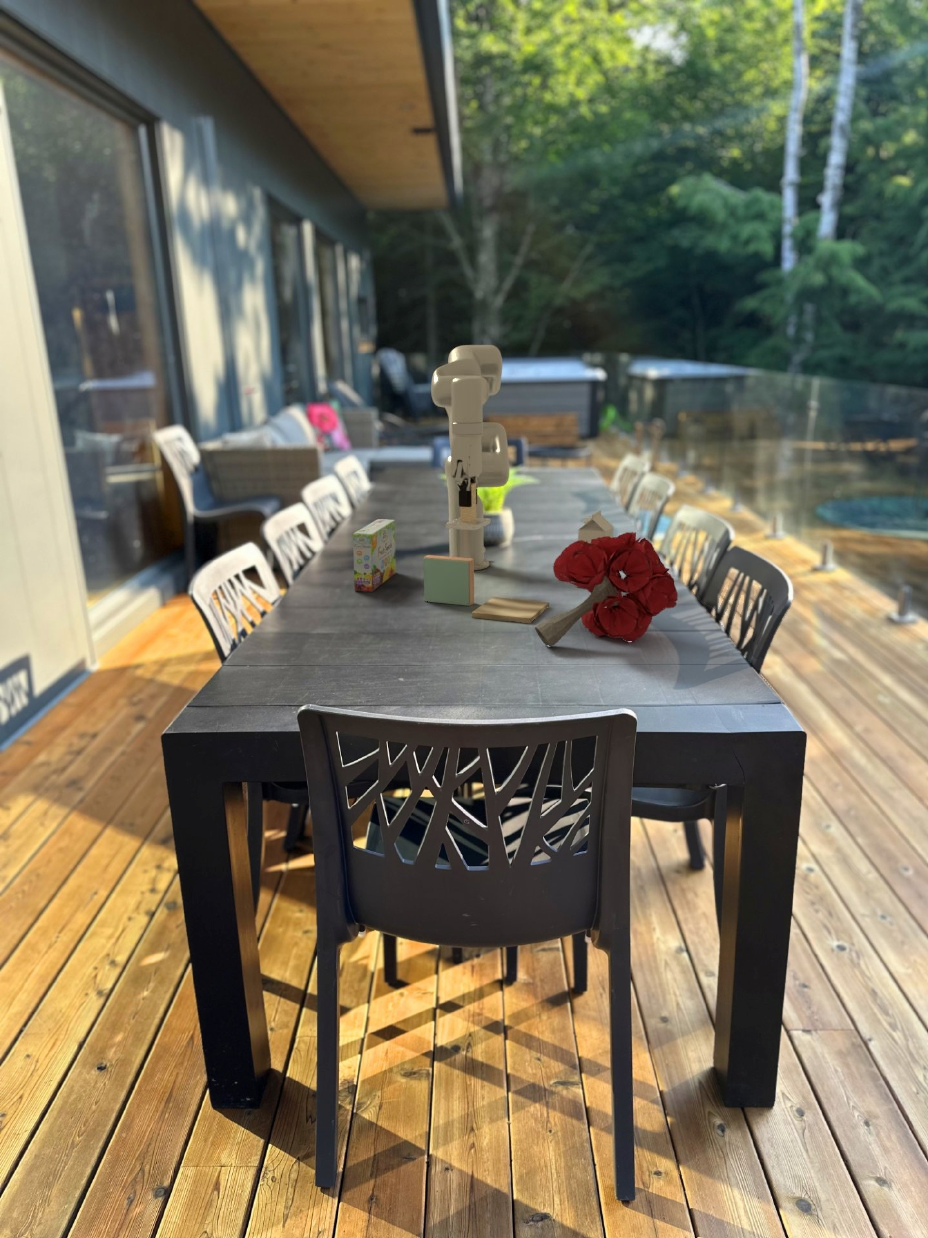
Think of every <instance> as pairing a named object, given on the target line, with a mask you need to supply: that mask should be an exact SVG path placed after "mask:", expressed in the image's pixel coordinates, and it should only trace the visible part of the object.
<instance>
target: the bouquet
mask: <svg viewBox="0 0 928 1238" xmlns="http://www.w3.org/2000/svg"><path fill="white" fill-rule="evenodd" d="M552 567H553V568H552V569H553V573H554V574H553V575H554V577H555V578H556V579H557V580H558V581H560V582H563V583H570V584H571V585H573V586H576V587H577V586H578V587H577V588H580V589H584V590H587V591H588V592H589V593H590V594H589V596H588V597H587V598H586V599H585V600H584V601H583V602H581V603H580V604H579V605H577V606H576V607H574V608H572V609H570V610H568V611H566V612H565V611H564V613H561V614H557V615H556V616H553V617H551V618H549V619H546V620H543V621H541V622H540V623H539V624H538V625H536V626H535V627H534V629H535V631H536V633H537V636H538V637H539V638H540V640H541V641H542V643H543V644H544V645H545V646H546V645H549V646H550V648H551V647H552V646H554V645H557V643H558V642H559V641H560V640H561V639H562V638H563V637H564V636H565V635H566V633H567V632H568V631H570V629H571V628H572V627H573V626H574V625H575V624H576V623H577V622H578V621H579V620H580V619H581V621H582V625H583V627H584V628H585V629H586V630H588V632H590V633H591V634H593V635H595V636H598V637H602V636H601V635H607V636H609V637H610V638H616V639H618V638H622V640H623V639H624V640H626V641H632V642H631V643H634V642H636V641H637V640H638V639H640V638H642V637H643V636H644V635H645V634H646V632H647V630H648V629H649V626H651V623H652V622H653V617H655V616H658V615H659V614H660V613H662V611H664V610H666V609H671V608H672V609H673V608H675V607H676V606H677V601H678V591H677V588H676V585H675V579H674V578H673V577H672V575H671V574H670V573H669V571H670V568H668V567H666V566H665V564H664V563H663V562H662V560H661V557H660V555H659V554H658V553H657V552H656V550H655V548H654V545H653V544H652V543H651V541H650V540H649V539H647V538H646V537H643V538H642V536H640V537H639V538H637V532H633V531H629V532H628V531H627V532H624V533H622V534H619V535H618V536H615V537H614V536H613V537H612V538H611V537H609V536H605V537H598V538H597V539H592V540H591V543H588V542H587V541H586V542H585V541H583V540H579V541H578V540H576V541H573V542H571V543H570V544H569V545H568V546H567V547H565V548H564V549H563V550H562V551H561V553H560V555H558V556H557V557H556V558H555V560H554V562H553V565H552ZM620 572H622V573H623V574H624V575H625V576H624V578H623V576H622V575H621V573H620ZM622 593H624V594H622ZM624 640H623V641H624ZM626 641H625V642H626Z"/></svg>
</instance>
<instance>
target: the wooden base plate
mask: <svg viewBox="0 0 928 1238" xmlns="http://www.w3.org/2000/svg"><path fill="white" fill-rule="evenodd" d="M547 607H549V608H550V601H549V602H548V601H541V600H529V599H517V598H508V597H500V596H499V597H497V596H493V597H491V598H490V599H489V600H487V601H485V602H484V603H483V604H481V605H480V606H479V607H477V608H476V609H474V610H473V611H471V617H472V619H473V618H475V619H483V620H494V621H503V622H511V621H516V622H515V623H520V622H521V624H522V623H523V624H532V623H533V622H534V621H535V620H537V618H539V615H540V614H541V613H542V612H543V611H544V610H545V609H546V610H548V609H547ZM546 610H545V611H546ZM545 611H544V612H545ZM544 612H543V613H544ZM543 613H542V614H543ZM542 614H541V615H542ZM541 615H540V616H541ZM534 619H535V620H534ZM533 620H534V621H533ZM532 621H533V622H532ZM531 622H532V623H531Z"/></svg>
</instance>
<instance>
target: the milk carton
mask: <svg viewBox="0 0 928 1238" xmlns="http://www.w3.org/2000/svg"><path fill="white" fill-rule="evenodd" d="M582 522H583V523H584V524H583V525H582V526H581V527H580V528H579V529H578V530H577V531H578V533H577V534H578V535H577V537H578V538H577V541H579V540H583V541H585V542H586V541H587V542H588V543H591V540H592V539H597V538H598V537H605V536H609V537H611V538H612V537H614V525H612V523H610V522H609V521H608V519H606V518H605V517H604V516H603V515H602V510H601V509H599V510H597V511H596V512H594V513H593V514H592V513H591V516H590V515H588V516H587V517H586V518H585V519H583V520H582ZM576 587H577V588H579V587H578V586H576Z"/></svg>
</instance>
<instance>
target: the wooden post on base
mask: <svg viewBox="0 0 928 1238" xmlns="http://www.w3.org/2000/svg"><path fill="white" fill-rule="evenodd" d="M476 489H477V488H476V483H470V491H472V506H471V507H460V518H457V519H455V520H453V521H450V522H449V521H448V522H446V523H445V529H448V530H449V529H464V530H478V529H480V528H482V527H483V528H484V527H486V526H488V525H490V524H491V521H492V519H491V518H487V517H483V518H476Z"/></svg>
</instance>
